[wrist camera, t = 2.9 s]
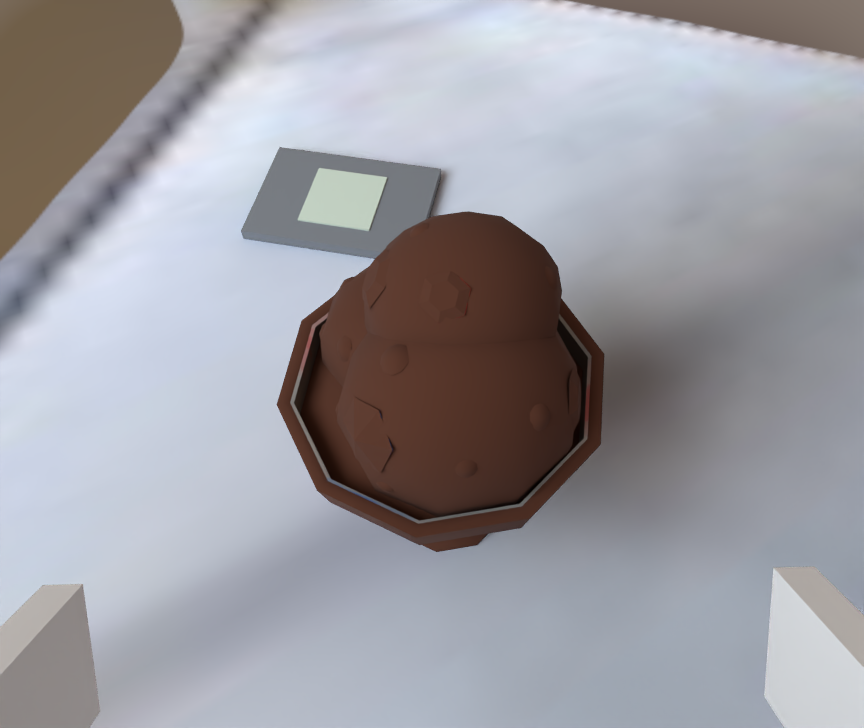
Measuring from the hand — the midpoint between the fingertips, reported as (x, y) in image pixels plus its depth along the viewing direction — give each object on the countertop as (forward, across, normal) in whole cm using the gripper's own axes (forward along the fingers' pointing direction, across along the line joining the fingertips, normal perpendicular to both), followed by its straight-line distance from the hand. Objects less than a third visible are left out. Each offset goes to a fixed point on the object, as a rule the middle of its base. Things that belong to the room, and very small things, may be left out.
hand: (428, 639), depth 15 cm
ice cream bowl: (+19, 0, -5) cm, 19 cm away
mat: (+31, -5, +8) cm, 32 cm away
